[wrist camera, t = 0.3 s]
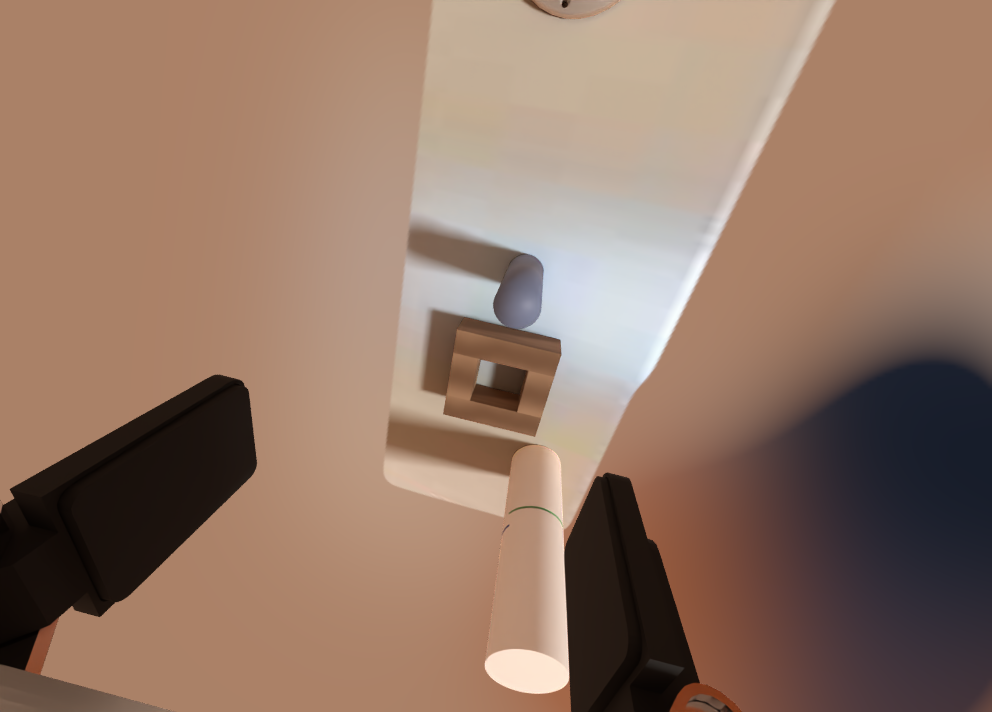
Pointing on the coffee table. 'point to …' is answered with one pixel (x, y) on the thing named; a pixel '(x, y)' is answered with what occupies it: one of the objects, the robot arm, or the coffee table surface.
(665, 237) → the coffee table surface
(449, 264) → the coffee table surface
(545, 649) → the cylindrical container
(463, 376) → the socket block
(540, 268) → the peg
